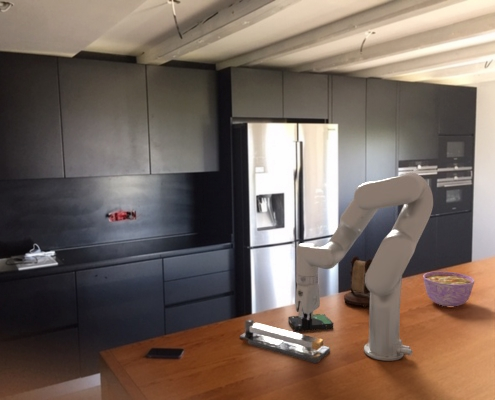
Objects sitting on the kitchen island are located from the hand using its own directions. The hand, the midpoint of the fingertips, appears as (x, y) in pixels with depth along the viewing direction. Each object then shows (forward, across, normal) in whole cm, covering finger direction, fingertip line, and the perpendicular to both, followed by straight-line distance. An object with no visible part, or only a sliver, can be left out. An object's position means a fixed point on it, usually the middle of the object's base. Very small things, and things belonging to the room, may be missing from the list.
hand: (306, 329), depth 165 cm
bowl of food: (+4, +64, -33) cm, 72 cm away
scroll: (+4, +46, -2) cm, 46 cm away
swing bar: (+2, -10, +5) cm, 11 cm away
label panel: (+4, -10, +5) cm, 11 cm away
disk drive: (+4, +12, +5) cm, 14 cm away
